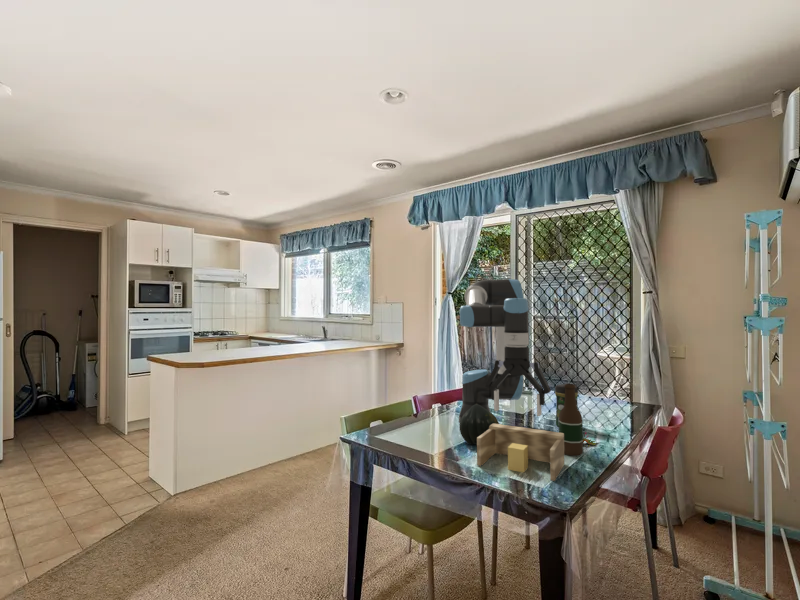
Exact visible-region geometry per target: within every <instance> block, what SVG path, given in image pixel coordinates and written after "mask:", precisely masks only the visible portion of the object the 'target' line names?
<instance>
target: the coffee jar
mask: <svg viewBox="0 0 800 600" xmlns="http://www.w3.org/2000/svg"><path fill="white" fill-rule="evenodd" d="M565 384H571V383H570V382H566V383H561V384H557V385H555V390H554V394H555V398H556V399H555V400H556V401H555V402H556V409H555V410H556V411H555V412H556V413H555V426H557V427H558V428H559V414H560V411H561V410H562V408H563V407H564V401H565V387H564V386H565ZM572 384H573V385H575V387H576V388H575V398H576V406H577V409H578V410H579V408H578V407H579V405H578V397H579V391H578V385H577V384H575V383H572Z"/></svg>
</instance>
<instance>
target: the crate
mask: <svg viewBox="0 0 800 600" xmlns="http://www.w3.org/2000/svg"><path fill="white" fill-rule="evenodd" d="M512 443H515V444H522V445H528V460H532V461H537V462H543V463H549V465H550V466H549V467H550V468H549V469H550V472H549V473H550V475H549V477H550V481H553V482H555V481H556V479H557V478H558V476H559V474H560V472H561V471H562V469H563V468H564V465H565V454H564V433H559V431H558V432H557V431H549V430H544V429H535V428H529V427H523V426H514V425H508V424H507V425H506V424H501V423H499V424H494V423H493V424H491V425H490V426H489V429H488V430H487V431H486V432H484V433H483V434H481V435H480V436H479V437H477V444H476V466H477V465H479V466H478V467H482V466H483V465H484V464H485V463H486V462H488V461H489V460H490V459H491V458H492V457H493V456H494V455H495V454H498V455H504V456H508V447H509V446H510V445H511V444H512ZM489 458H490V459H489ZM481 465H482V466H481Z"/></svg>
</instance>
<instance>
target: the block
mask: <svg viewBox="0 0 800 600" xmlns="http://www.w3.org/2000/svg"><path fill="white" fill-rule="evenodd" d="M527 469H529V459H528V445H522V444H515V443H512V444H511V445H510V446H509V447H508V455H507V470H509V471H515V472H519V473H525V472H526V471H527Z"/></svg>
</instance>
